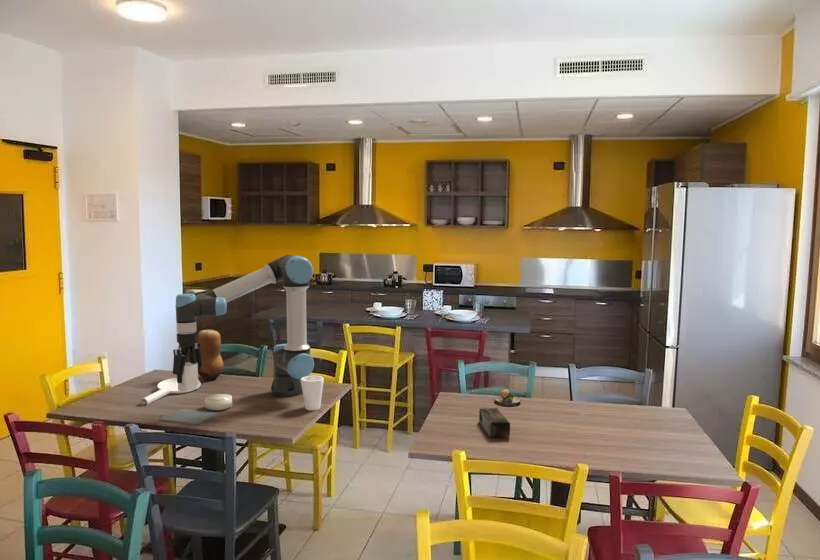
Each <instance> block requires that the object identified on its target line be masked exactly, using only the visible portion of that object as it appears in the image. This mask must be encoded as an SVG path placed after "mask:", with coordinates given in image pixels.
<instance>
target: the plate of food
mask: <svg viewBox="0 0 820 560" xmlns="http://www.w3.org/2000/svg"><path fill="white" fill-rule="evenodd" d="M493 402H494V404H496V405H498V406H502V407H516V406H517V404H518V403H521V398H520V397H518V396H515V395H513V394H511V392H510V390H509V389H502V390H501V391H500V394H499V395H498V396H495V397H494V399H493Z"/></svg>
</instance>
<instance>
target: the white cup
mask: <svg viewBox="0 0 820 560" xmlns="http://www.w3.org/2000/svg"><path fill="white" fill-rule="evenodd" d="M183 375H184V376H185V391H187V390H193V391H195V390H197V389H198V388H197V380H199V374H198V363H195V364H192V363H191V362H190V361H187V362H185V367H184V371H183ZM196 388H197V389H196ZM194 389H195V390H194Z"/></svg>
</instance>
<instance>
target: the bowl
mask: <svg viewBox="0 0 820 560" xmlns="http://www.w3.org/2000/svg"><path fill="white" fill-rule="evenodd" d="M204 406H205V408H206V409H207V410H210V411H223V410H226V409H228V408H231V407H232V406H233V396H232V395H231V394H230V393H229V394H228V393H215V394H211V395H210V394H209V395H208V396H206V397H204Z"/></svg>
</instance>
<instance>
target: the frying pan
mask: <svg viewBox="0 0 820 560" xmlns="http://www.w3.org/2000/svg"><path fill="white" fill-rule="evenodd" d="M200 386H201V381H200V380H199V379H198V386H197V388H196V389H194V390H187V391H178V383H177V377H173V378H168V379H164V380H162V381H160V382H158V384H157V389H158V390H157V391H155V392H153V393H151V394H148V395H147V396H145V397H143V398H142V399H140V404H141V405H142V406H144V405H146V406H148V405H149V404H152V403H153V402H155V401H157V400H159V399H161V398H163V397H164V396H167V395H169V394H172V395H173V394H186V393H191V392H193V391H195V390H197V389H199V388H200Z"/></svg>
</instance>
